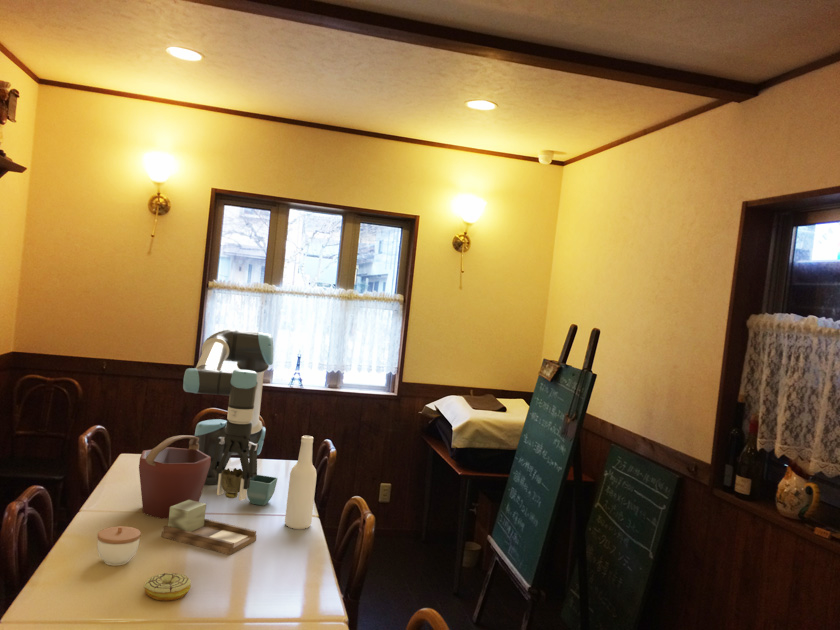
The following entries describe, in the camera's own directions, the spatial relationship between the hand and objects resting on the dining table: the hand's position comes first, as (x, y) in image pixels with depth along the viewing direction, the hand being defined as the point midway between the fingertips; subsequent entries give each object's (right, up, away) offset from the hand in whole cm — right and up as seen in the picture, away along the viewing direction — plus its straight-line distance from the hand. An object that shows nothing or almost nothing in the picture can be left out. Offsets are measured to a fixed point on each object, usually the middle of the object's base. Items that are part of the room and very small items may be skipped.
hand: (231, 496), depth 202 cm
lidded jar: (-25, -12, -21) cm, 35 cm away
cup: (0, 0, 0) cm, 0 cm away
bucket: (-27, -11, +23) cm, 37 cm away
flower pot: (-1, -14, +41) cm, 43 cm away
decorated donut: (-6, -15, -36) cm, 39 cm away
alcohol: (+16, -16, +23) cm, 32 cm away
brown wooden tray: (-7, -13, +2) cm, 15 cm away
